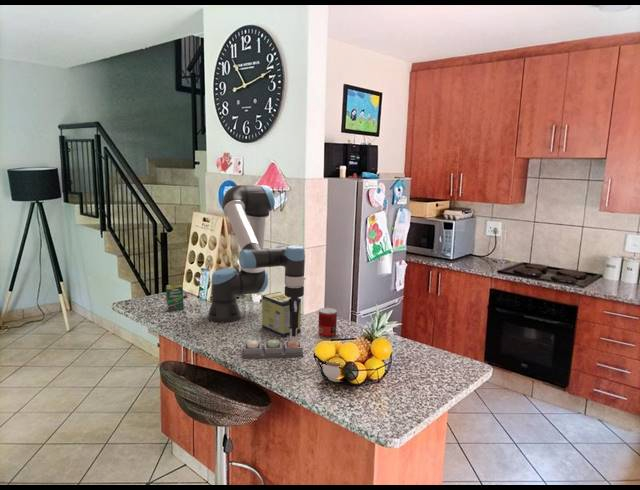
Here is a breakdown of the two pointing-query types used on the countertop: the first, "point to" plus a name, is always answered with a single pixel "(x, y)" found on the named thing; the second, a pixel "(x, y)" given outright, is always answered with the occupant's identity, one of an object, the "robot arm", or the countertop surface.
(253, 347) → the button cream
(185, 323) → the countertop surface
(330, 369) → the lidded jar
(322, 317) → the canned food
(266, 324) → the protein box
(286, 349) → the button panel
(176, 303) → the coffee box
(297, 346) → the button terracotta
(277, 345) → the button sage
